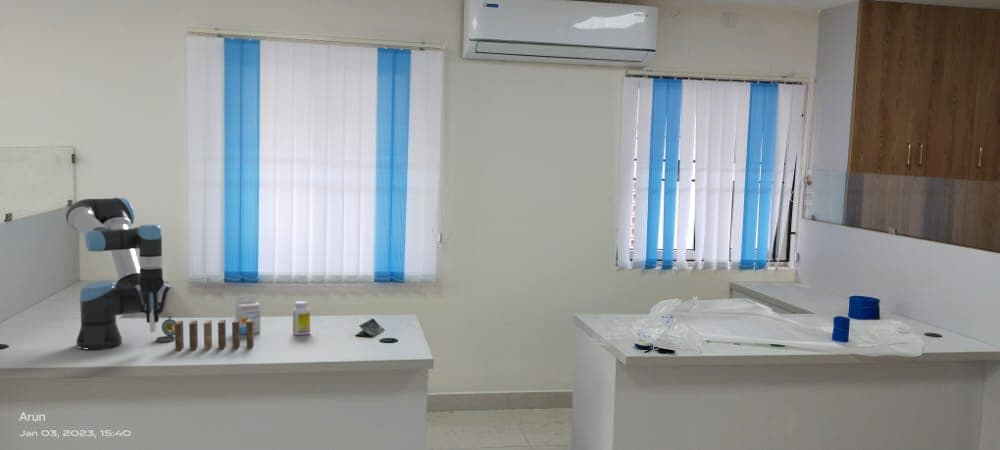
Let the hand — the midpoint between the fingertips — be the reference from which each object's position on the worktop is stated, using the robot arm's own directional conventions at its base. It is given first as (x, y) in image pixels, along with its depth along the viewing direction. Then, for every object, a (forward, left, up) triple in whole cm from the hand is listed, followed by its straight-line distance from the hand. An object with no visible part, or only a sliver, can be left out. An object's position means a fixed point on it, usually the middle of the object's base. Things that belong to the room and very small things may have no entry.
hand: (153, 331), depth 288 cm
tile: (+19, 0, -7) cm, 20 cm away
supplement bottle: (+52, +18, -7) cm, 56 cm away
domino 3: (+24, 0, -7) cm, 25 cm away
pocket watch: (+2, +15, -7) cm, 17 cm away
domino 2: (+14, 0, -7) cm, 16 cm away
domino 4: (+29, 0, -7) cm, 30 cm away
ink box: (+31, +23, -7) cm, 39 cm away
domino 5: (+34, 0, -7) cm, 35 cm away
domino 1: (+9, 0, -7) cm, 11 cm away
